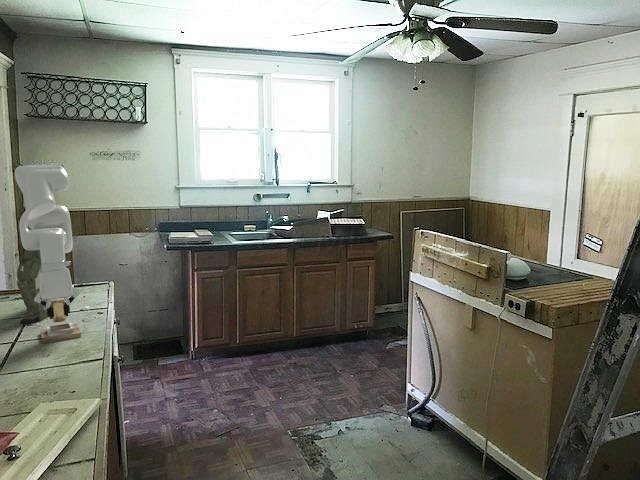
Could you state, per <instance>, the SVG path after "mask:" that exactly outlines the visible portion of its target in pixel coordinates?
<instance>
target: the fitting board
mask: <svg viewBox="0 0 640 480" xmlns="http://www.w3.org/2000/svg"><path fill="white" fill-rule="evenodd" d="M39 331H40V336H41V340H42V344H48V343H53V342H58V341H64V340H70V339H75V338H81V337H82V332H81V330H80V328H79V326H78V324H77V323H75V324H73V323H72V322H64V323H63V322H62V323H57V324H52V325H51V324H50V325H47V326H46V328H44V329H40V330H39Z"/></svg>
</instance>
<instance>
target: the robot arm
mask: <svg viewBox="0 0 640 480" xmlns="http://www.w3.org/2000/svg"><path fill="white" fill-rule="evenodd" d="M14 178H15V182H16V183H17V185H18V187H19V189H20V191H21V192H22V196H23V199H24V205H25V208H24V209H25V211H24V212H23V213H22V215H21V217H20V220H19V223H18V224H19V225H18V227H19V236H20V242H21V245H22V247H23V249H25V251H26V250H28V251H34V250H40V255H41V267H40V270H39V273H38V276H37V278H35V281H36V289H38V288H39V289H40V291H39V292H38V294H37V295H36V297H35V298H34V301H35V302H37V303H40V304H42V306H43V308H44V310H46V311H47V316H49V319H50V320H52V318H53V317H52V308H51V301H54V300H60V299H63V300H64V301H65V312H66V317H69V314H70V313H71V307H70V305H71V304H72V303H73V301H74V300H75V299H76V298H77V297H78V296H80V293H79V292H78V291H77V290H76V289H75V288H74V286H73V282H72V278H71V273H70V270H69V268H68V266H71V261H68V260H66V254H68V253H71V252H72V250H73V247H74V241H73V240H74V239H73V232H72V221H71V213H70V211H69V209H68V207H66V206H65V205H60V204H59V205H57V204H56V203H57V202H56V198H55V193H54V192H63V191H67V190H69V187H70V179H69V178H70V177H69V175H68V171H66V169H65V168H64V167H63V166H62V165H60V164H29V165H21V166H17V167H16V168H15V169H14ZM40 297H41V298H42V300H41V299H40Z"/></svg>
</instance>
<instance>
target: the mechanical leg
mask: <svg viewBox="0 0 640 480" xmlns="http://www.w3.org/2000/svg"><path fill="white" fill-rule="evenodd" d="M22 258H23V260H22V263H21V264H18V265H17V266H18V267H17V270H16V276H17V281H16V285H17V287H18V290H19V293H20V295H21V298H22V302H23V303H24V306H25V307H26V309H25V310H26V311H25V313H24V317H22V318H21V319H20V320H19V324H20V325H33V324H36V323H38V322H41V321H43V320H44V319H46V318H50V316H47V310H44V308H43V306H42V304H40V303H37V302H35V301H34V298H35V297H36V295H37V294H38V292H39V291H40V289H39V288H38V289H36V281H35V278H37V276H38V273H39V270H40V267H41V255H40V250H34V251H28V250H26V249H25V252H24V254H23V257H22ZM40 299H41V300H42V298H41V297H40Z"/></svg>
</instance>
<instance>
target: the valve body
mask: <svg viewBox="0 0 640 480" xmlns="http://www.w3.org/2000/svg"><path fill="white" fill-rule="evenodd" d="M51 308H52V317H53V318H52V319H51V321H52V323H61V322H62V323H63V322H65V321H67V316H66V312H65V299H59V300H54V301H51Z"/></svg>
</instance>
